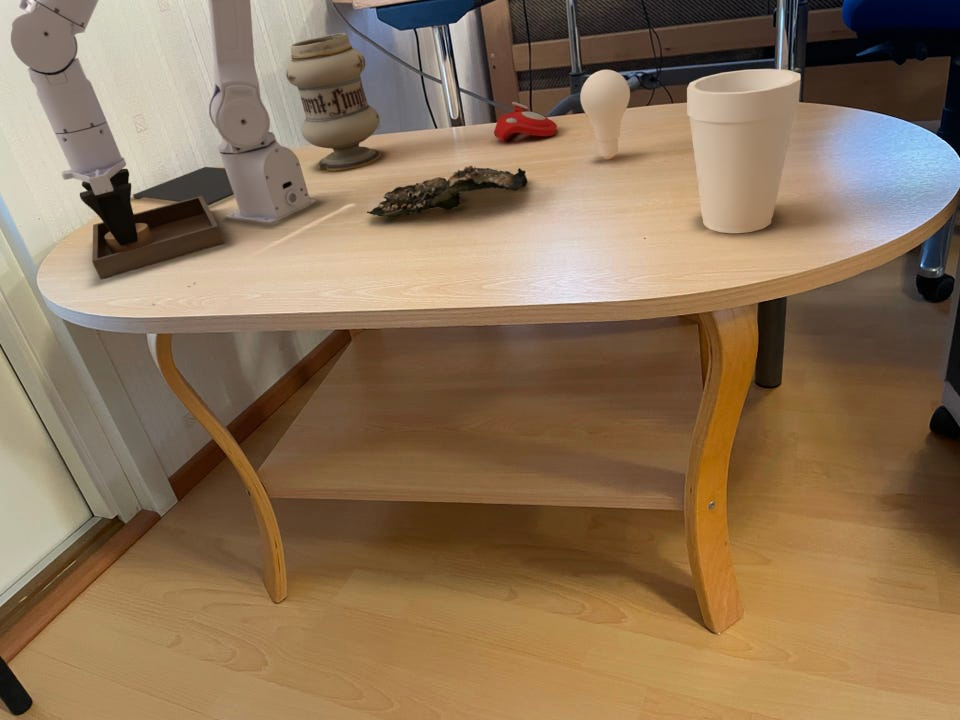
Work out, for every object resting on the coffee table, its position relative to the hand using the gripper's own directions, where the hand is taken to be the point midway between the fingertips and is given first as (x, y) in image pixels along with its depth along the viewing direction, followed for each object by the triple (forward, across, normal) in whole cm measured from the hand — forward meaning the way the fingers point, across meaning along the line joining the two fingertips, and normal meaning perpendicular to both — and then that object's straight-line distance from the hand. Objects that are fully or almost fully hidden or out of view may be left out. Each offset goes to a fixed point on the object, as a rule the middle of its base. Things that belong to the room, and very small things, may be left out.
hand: (128, 236), depth 88 cm
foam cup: (+2, +47, +55) cm, 72 cm away
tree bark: (+2, +19, +37) cm, 41 cm away
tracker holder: (+2, -2, +59) cm, 59 cm away
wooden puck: (+1, 0, 0) cm, 1 cm away
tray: (+2, +2, +3) cm, 4 cm away
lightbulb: (+2, +20, +59) cm, 62 cm away
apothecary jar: (+2, -14, +33) cm, 36 cm away
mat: (+2, -22, +12) cm, 25 cm away
